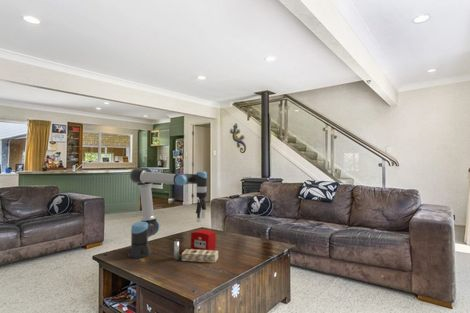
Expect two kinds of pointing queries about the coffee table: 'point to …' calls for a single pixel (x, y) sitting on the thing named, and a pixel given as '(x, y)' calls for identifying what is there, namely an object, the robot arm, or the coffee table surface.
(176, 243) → the pin
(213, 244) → the fire alarm
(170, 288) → the coffee table surface
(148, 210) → the robot arm
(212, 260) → the bore block
